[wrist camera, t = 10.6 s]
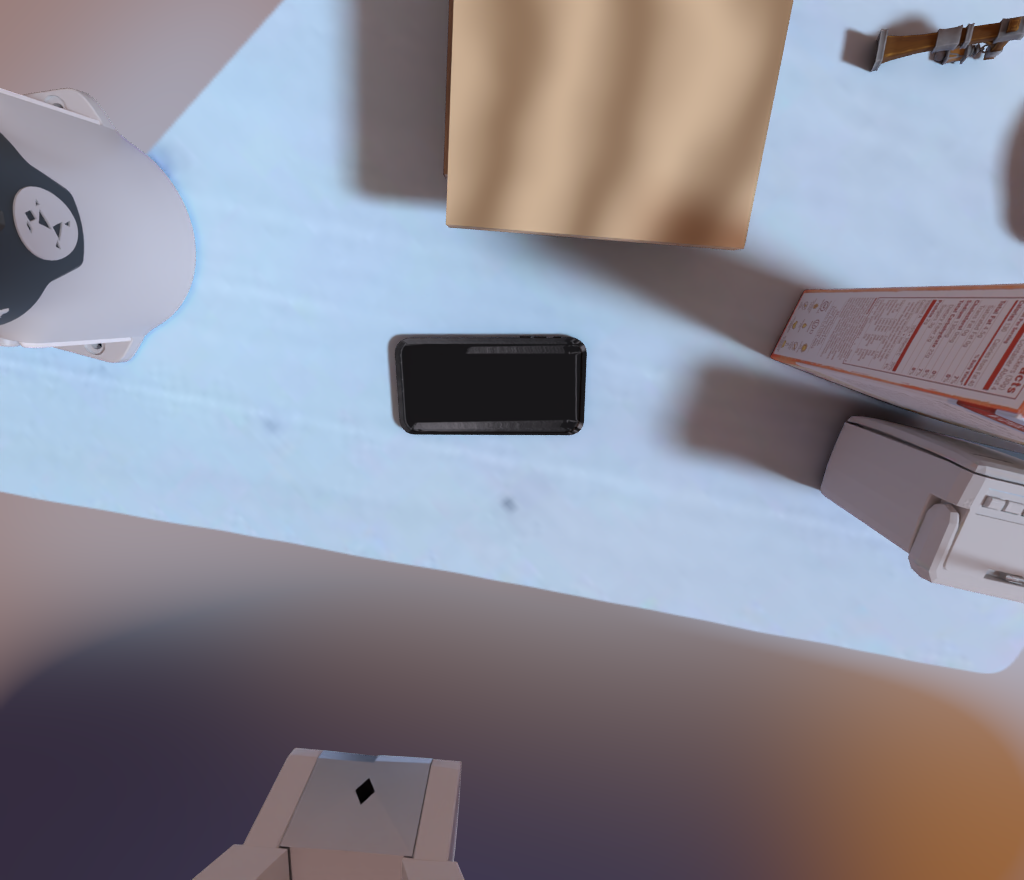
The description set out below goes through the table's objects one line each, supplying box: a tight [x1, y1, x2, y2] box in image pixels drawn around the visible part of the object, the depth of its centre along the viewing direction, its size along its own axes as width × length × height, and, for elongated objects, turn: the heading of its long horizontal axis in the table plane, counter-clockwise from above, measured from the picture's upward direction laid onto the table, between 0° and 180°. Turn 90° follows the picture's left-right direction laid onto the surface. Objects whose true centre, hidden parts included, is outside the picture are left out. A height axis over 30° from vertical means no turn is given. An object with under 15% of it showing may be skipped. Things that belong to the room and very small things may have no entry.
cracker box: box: [771, 283, 1024, 445], centre depth 29 cm, size 14×6×21 cm, turn 70°
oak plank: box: [446, 0, 793, 250], centre depth 29 cm, size 18×13×2 cm
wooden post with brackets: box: [871, 16, 1024, 72], centre depth 32 cm, size 2×8×4 cm, turn 89°
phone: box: [395, 336, 587, 435], centre depth 40 cm, size 8×1×15 cm
